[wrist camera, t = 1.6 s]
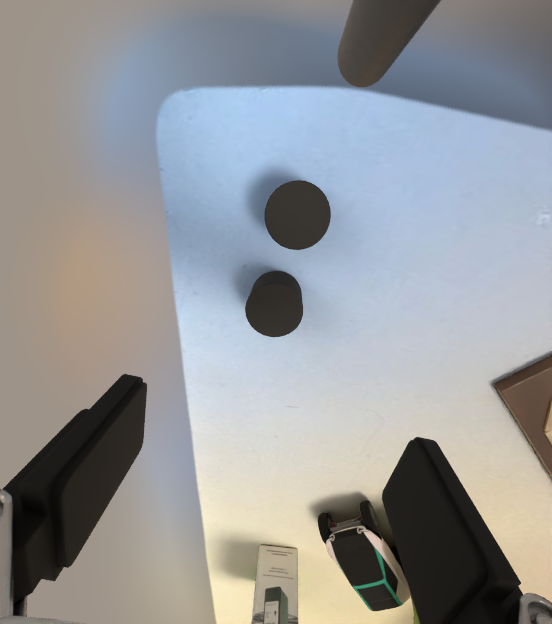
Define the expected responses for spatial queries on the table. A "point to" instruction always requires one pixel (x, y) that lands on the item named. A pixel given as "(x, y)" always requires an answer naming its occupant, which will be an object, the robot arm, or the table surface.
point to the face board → (532, 406)
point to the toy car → (366, 559)
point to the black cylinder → (297, 215)
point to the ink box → (276, 586)
